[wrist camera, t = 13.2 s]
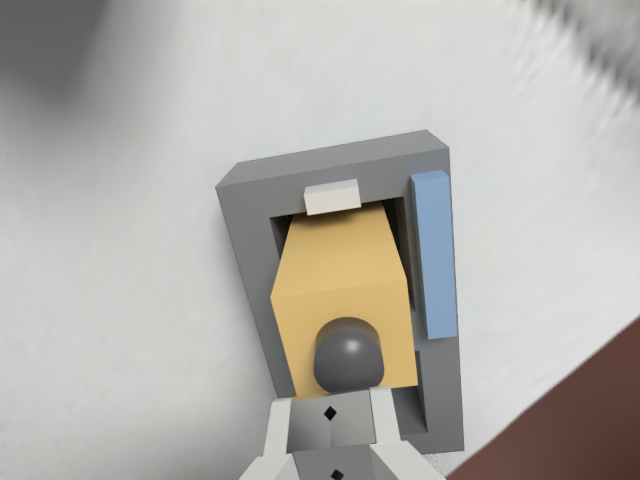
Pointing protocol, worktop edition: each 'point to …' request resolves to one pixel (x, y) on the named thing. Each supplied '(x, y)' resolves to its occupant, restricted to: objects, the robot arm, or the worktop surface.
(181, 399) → the worktop surface
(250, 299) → the grey compartment tray
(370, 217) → the drawer with knob
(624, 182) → the worktop surface
